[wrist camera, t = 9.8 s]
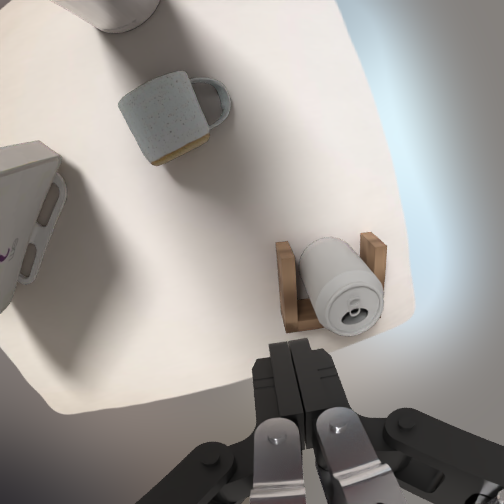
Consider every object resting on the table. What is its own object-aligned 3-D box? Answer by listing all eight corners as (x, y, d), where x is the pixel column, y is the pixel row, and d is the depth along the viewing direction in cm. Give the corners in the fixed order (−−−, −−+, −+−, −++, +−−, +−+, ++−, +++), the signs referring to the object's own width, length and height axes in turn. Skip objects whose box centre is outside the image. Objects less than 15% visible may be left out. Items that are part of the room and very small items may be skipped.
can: (303, 294, 43) (324, 351, 31) (291, 243, 40) (313, 290, 29) (356, 279, 42) (391, 329, 31) (348, 227, 39) (388, 268, 28)
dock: (275, 242, 40) (281, 258, 35) (371, 231, 40) (387, 246, 35) (280, 311, 43) (286, 333, 39) (367, 298, 43) (380, 317, 39)
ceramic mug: (159, 166, 35) (143, 175, 28) (129, 106, 32) (106, 102, 25) (243, 124, 34) (246, 123, 27) (212, 63, 31) (208, 46, 24)
